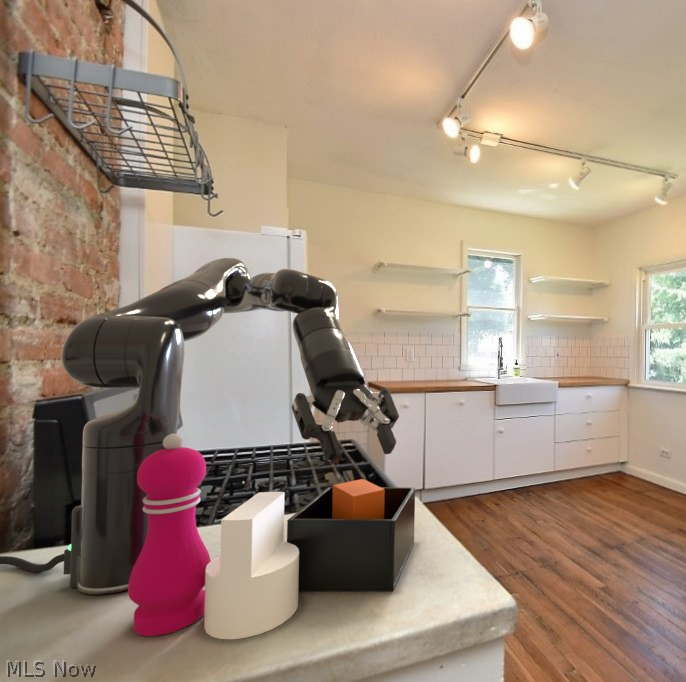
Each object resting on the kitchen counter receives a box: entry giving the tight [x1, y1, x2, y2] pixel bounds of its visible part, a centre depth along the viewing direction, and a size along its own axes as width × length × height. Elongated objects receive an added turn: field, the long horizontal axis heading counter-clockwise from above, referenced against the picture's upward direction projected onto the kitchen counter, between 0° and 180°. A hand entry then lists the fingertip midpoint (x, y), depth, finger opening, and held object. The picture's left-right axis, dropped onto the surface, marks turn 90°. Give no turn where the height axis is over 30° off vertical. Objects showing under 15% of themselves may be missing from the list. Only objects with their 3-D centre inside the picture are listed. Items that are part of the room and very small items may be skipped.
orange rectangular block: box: [332, 478, 385, 519], centre depth 61 cm, size 4×6×10 cm
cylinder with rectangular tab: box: [203, 491, 299, 640], centre depth 50 cm, size 9×9×12 cm
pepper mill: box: [127, 433, 212, 637], centre depth 49 cm, size 7×7×20 cm
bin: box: [286, 486, 416, 592], centre depth 61 cm, size 13×13×9 cm
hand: (364, 455), depth 60 cm, fingers open, 7 cm apart
